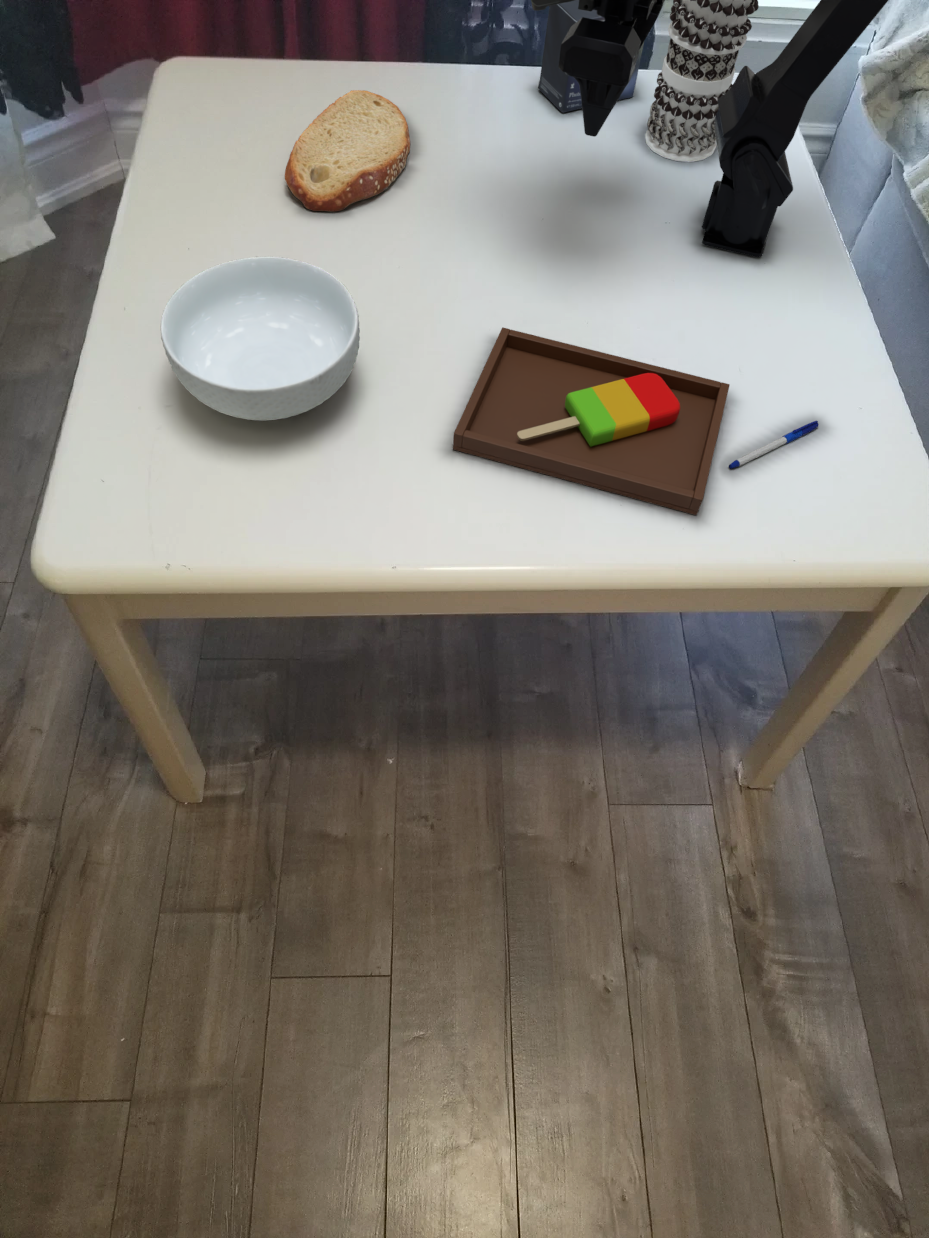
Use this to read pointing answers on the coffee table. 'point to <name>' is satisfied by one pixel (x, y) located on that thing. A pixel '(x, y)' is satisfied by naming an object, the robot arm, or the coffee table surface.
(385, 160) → the bread slice
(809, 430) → the ballpoint pen
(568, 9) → the small box
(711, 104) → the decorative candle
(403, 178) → the coffee table surface
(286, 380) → the cereal bowl
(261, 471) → the coffee table surface
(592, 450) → the tray
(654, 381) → the popsicle
